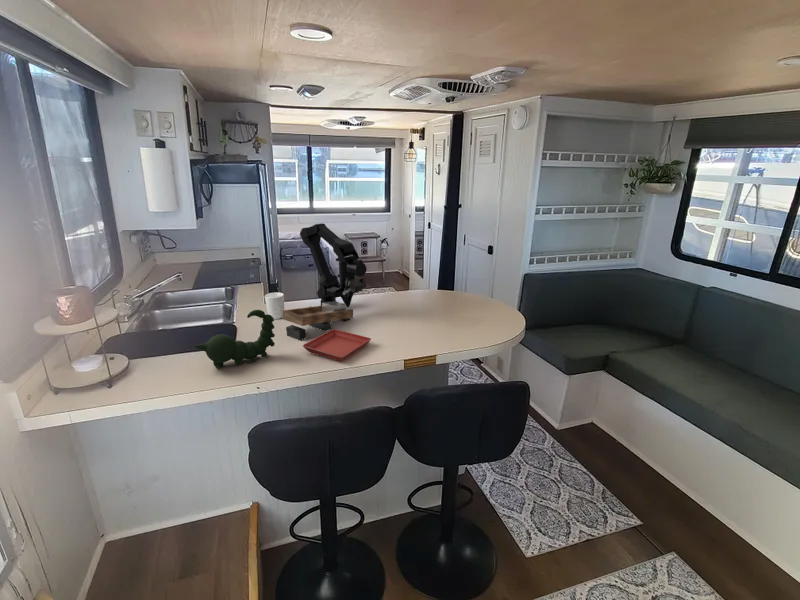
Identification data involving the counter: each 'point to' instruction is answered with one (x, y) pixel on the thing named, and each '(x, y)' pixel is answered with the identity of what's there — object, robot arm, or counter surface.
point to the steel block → (333, 306)
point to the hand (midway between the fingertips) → (347, 306)
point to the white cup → (275, 304)
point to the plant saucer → (337, 344)
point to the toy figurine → (240, 344)
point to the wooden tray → (314, 315)
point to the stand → (301, 333)
